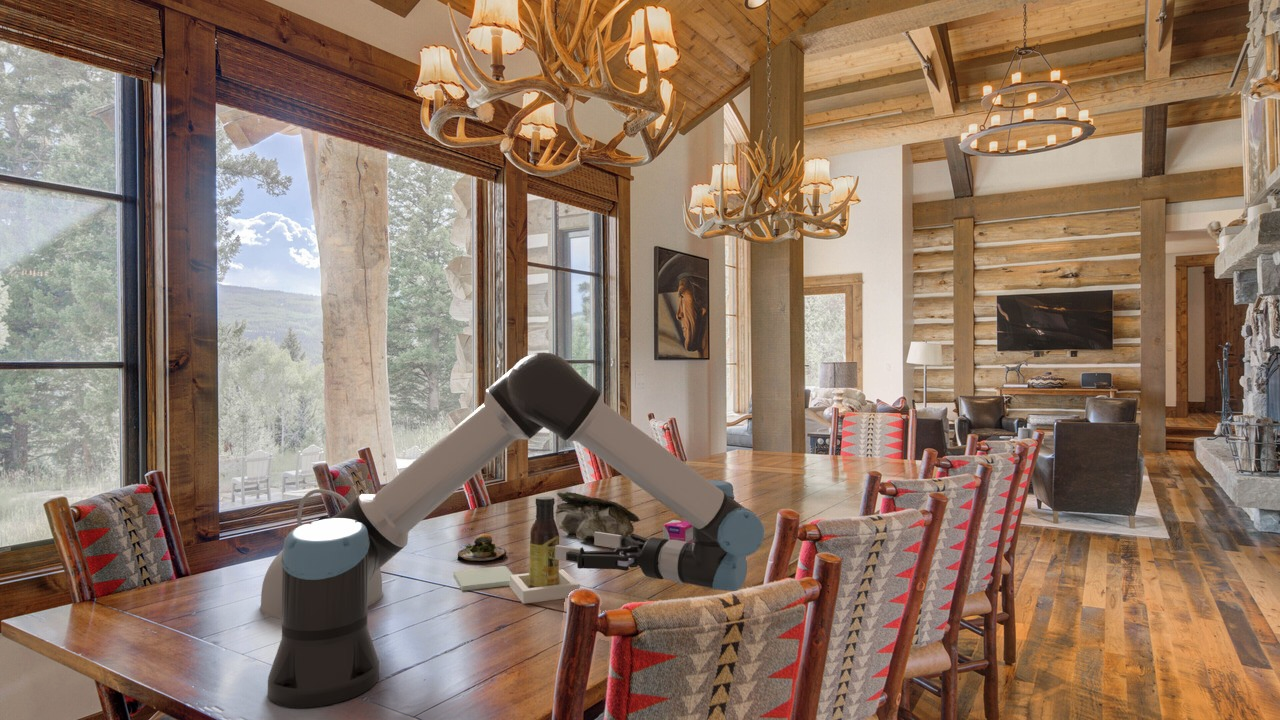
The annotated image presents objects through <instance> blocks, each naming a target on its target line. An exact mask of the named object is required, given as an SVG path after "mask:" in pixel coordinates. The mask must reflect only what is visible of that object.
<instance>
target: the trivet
mask: <svg viewBox="0 0 1280 720" xmlns="http://www.w3.org/2000/svg"><path fill="white" fill-rule="evenodd" d="M452 573H453V575H452V576H453V578H454V579H455V582H456V583H457V584H458V586H459V589H460V590H461V592H465V591H474V590H482V589H483V590H484V589H490V588H491V589H492V588H498V587H499V588H500V587H507V586H510V575H514V574H513V573H512V571H511V570H510V569H509V568H508V567H507V566H506V565H502V566H501V565H499V566H491V567H481V568H473V569H463V570H455V571H453V572H452Z"/></svg>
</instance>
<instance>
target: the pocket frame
mask: <svg viewBox="0 0 1280 720" xmlns="http://www.w3.org/2000/svg"><path fill="white" fill-rule="evenodd" d="M509 588H510V589H511V590H512V592H513V593H514V594H515V595H516V597H517V599H519V600H520V602H521V603H522V604H523V605H525V604H531V603H539V602H540V603H541V602H545V601H546V602H548V601H554V600H555V601H556V600H561V599H569V598H568V595H569V593H570V592H571V591H573V590H575V589H579V588H580V589H581V584H580V583H579V582H578V581H577V580H576V579H575V578H573V577H572V576H571V575H570V573H567V572H566V571H565V570H564V569H563V568H561V569H559V583H558V585H552V586H543V587H535V588H530V584H529V572H525V573H519V574H518V573H516V574H513V575H510V585H509Z"/></svg>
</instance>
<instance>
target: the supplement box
mask: <svg viewBox="0 0 1280 720" xmlns="http://www.w3.org/2000/svg"><path fill="white" fill-rule="evenodd" d="M662 530H663V531H662V539H668V540H678V541H685V542H690V543H693V525H691V524H690V523H689V522H687V521H686V520H677V519H672V520H670V521H668V522H666V523H664V524H663V525H662Z"/></svg>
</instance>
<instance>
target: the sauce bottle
mask: <svg viewBox="0 0 1280 720" xmlns="http://www.w3.org/2000/svg"><path fill="white" fill-rule="evenodd" d="M535 506H536V507H535V509H536V511H535V514H536V515H535V518H536V519H535V521H534V522H533V524H532V526H531V528H530V536H529V537H530V538H529V539H530V541H529V564H528V565H529V568H528V569H529V570H528V571H529V572H528V573H529V584H530V587H529V588H535V587H543V586H552V585H559V570H560V569H559V568H560V560H556V559H555V546H556V545H560V533H559V529H558V525H557V522H556V521H555V520H556V519H555V516H554V507H555V497H554V496H537V497H535Z"/></svg>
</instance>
